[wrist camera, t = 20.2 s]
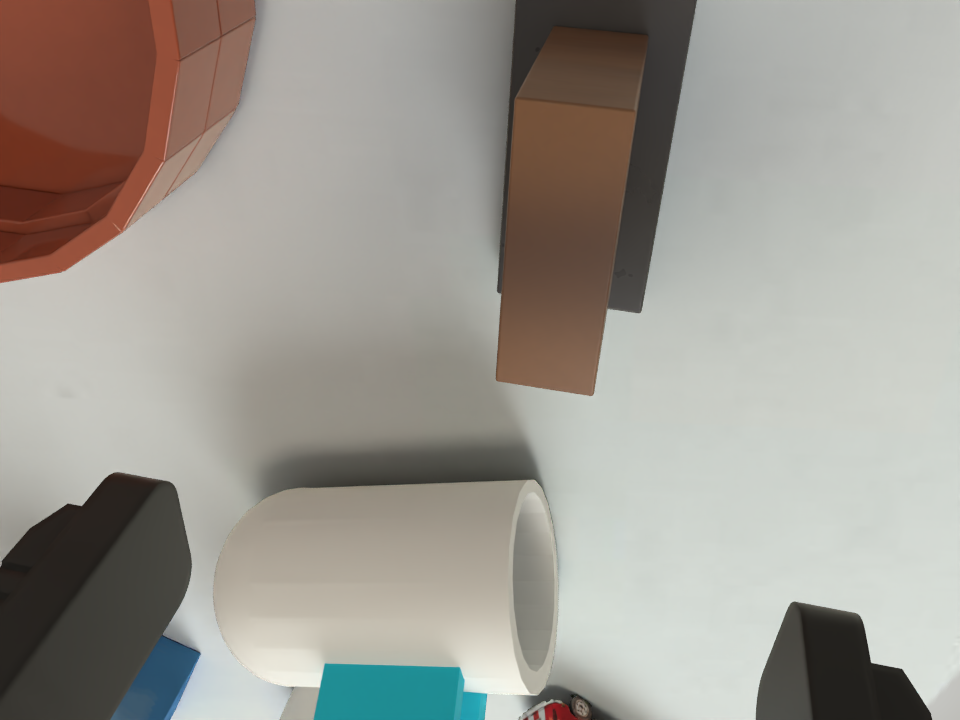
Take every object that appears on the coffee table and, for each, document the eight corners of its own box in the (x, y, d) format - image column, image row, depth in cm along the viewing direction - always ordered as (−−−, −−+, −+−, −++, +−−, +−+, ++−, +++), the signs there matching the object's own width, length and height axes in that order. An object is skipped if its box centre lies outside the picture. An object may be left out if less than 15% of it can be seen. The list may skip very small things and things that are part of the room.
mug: (132, 716, 28) (494, 735, 24) (207, 458, 32) (517, 442, 29) (298, 775, 37) (576, 794, 33) (337, 567, 42) (583, 565, 38)
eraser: (524, -31, 22) (466, 40, 17) (697, -15, 22) (698, 63, 16) (503, 275, 27) (453, 407, 22) (642, 294, 27) (629, 436, 21)
